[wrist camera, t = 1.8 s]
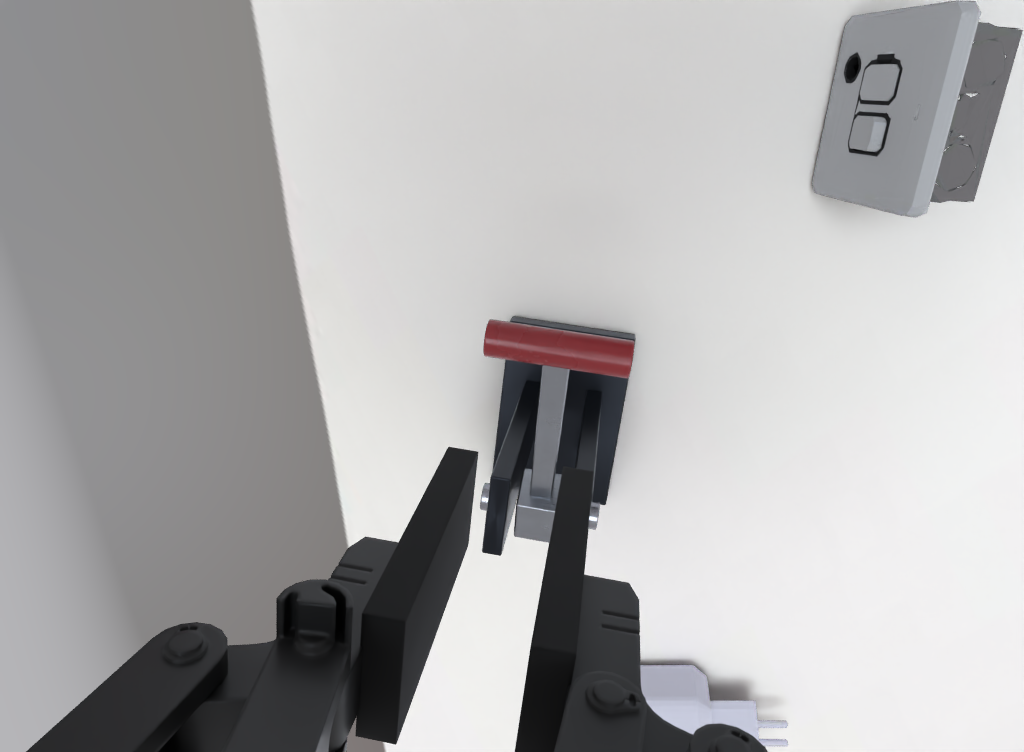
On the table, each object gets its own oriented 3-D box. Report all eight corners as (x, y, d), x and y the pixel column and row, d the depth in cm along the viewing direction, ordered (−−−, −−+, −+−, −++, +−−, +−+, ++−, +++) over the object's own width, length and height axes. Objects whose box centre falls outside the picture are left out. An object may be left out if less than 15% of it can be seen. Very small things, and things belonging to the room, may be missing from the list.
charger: (782, 755, 58) (587, 753, 61) (779, 657, 55) (574, 659, 58) (794, 809, 53) (584, 804, 56) (793, 706, 51) (570, 705, 53)
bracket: (512, 315, 49) (467, 399, 35) (635, 334, 48) (638, 427, 34) (493, 477, 53) (446, 608, 40) (606, 497, 53) (598, 637, 39)
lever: (493, 305, 32) (481, 342, 30) (636, 326, 31) (632, 366, 29) (486, 493, 41) (477, 530, 39) (596, 512, 40) (592, 551, 39)
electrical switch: (844, 15, 41) (924, -6, 32) (941, 22, 41) (1048, 3, 32) (807, 192, 44) (870, 217, 35) (896, 199, 44) (982, 226, 35)
